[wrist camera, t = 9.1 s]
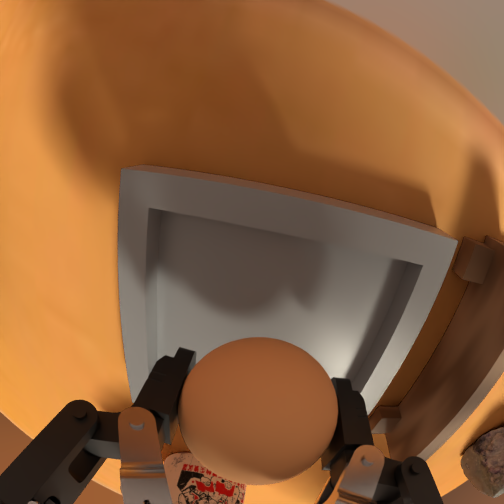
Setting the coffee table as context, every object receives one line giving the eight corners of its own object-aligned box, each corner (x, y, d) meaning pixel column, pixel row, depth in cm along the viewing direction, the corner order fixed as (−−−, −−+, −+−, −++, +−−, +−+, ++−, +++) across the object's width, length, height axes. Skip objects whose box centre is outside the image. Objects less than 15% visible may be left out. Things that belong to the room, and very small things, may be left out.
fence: (414, 424, 18) (428, 470, 13) (364, 425, 18) (373, 477, 13) (515, 247, 12) (565, 281, 7) (466, 227, 12) (524, 263, 7)
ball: (338, 389, 13) (351, 494, 7) (227, 408, 14) (205, 502, 8) (314, 291, 11) (334, 417, 5) (178, 322, 12) (120, 429, 7)
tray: (343, 421, 18) (346, 443, 16) (143, 382, 18) (132, 402, 16) (437, 227, 12) (458, 241, 10) (143, 164, 13) (121, 168, 11)
